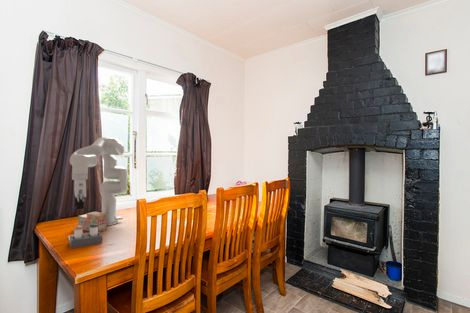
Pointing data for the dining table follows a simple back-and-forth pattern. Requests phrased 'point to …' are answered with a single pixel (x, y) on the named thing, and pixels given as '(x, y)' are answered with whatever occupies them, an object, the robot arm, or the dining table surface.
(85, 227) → the stack of blocks
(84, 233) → the tray
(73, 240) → the socket strip
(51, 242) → the dining table surface
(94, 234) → the grey capped white peg
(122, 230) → the dining table surface
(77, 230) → the plug
